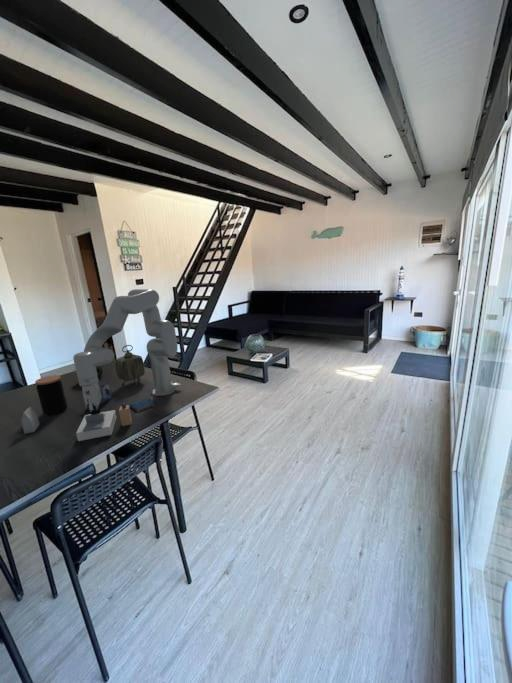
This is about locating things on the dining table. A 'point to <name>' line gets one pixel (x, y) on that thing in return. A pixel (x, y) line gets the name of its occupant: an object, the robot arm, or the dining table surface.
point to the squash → (98, 372)
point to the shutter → (94, 422)
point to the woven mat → (142, 404)
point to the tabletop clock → (129, 367)
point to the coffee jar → (51, 395)
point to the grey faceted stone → (30, 420)
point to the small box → (104, 391)
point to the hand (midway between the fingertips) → (96, 417)
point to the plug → (125, 414)
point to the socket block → (104, 431)
